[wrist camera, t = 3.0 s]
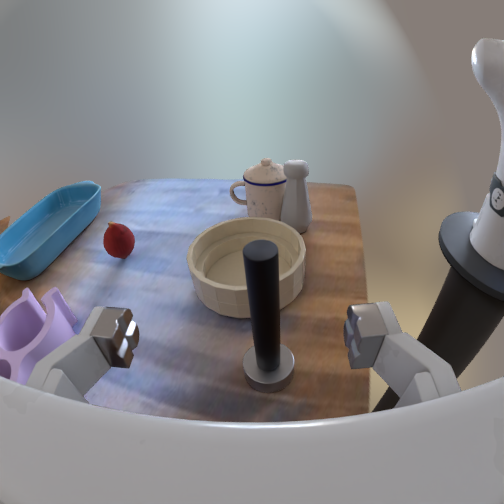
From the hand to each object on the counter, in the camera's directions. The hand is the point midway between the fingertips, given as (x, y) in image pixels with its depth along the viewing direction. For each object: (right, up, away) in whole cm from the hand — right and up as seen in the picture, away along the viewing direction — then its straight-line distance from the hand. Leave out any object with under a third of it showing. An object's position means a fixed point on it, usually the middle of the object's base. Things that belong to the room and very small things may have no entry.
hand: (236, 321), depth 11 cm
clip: (-30, -14, +22) cm, 40 cm away
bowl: (0, -2, +34) cm, 35 cm away
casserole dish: (-48, +5, +49) cm, 69 cm away
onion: (-23, +1, +42) cm, 47 cm away
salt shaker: (+9, +7, +45) cm, 46 cm away
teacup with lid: (+3, +10, +50) cm, 51 cm away
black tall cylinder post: (+3, -11, +22) cm, 25 cm away
